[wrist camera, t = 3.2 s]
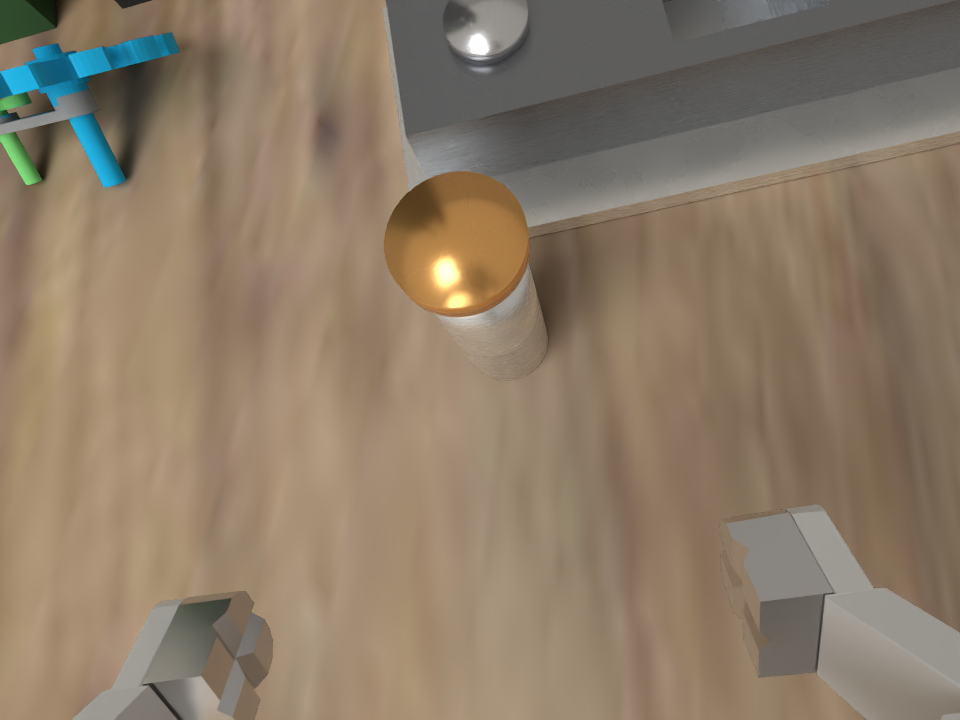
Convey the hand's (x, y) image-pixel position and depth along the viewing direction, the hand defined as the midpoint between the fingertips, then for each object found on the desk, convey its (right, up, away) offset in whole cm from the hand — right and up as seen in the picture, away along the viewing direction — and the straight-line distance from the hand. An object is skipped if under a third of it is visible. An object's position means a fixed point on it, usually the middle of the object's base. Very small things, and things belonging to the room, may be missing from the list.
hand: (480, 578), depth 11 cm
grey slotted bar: (+9, +16, +16) cm, 24 cm away
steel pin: (+1, +4, +14) cm, 15 cm away
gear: (-18, +15, +21) cm, 31 cm away
